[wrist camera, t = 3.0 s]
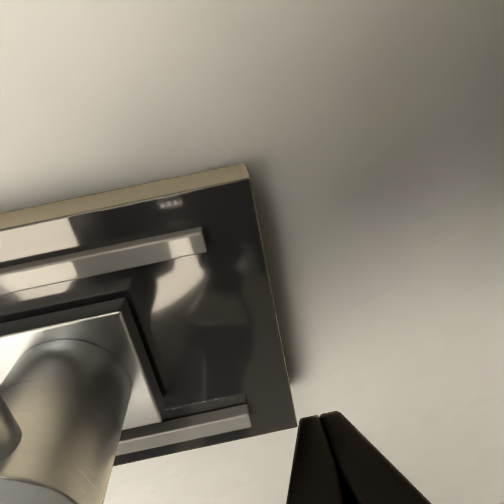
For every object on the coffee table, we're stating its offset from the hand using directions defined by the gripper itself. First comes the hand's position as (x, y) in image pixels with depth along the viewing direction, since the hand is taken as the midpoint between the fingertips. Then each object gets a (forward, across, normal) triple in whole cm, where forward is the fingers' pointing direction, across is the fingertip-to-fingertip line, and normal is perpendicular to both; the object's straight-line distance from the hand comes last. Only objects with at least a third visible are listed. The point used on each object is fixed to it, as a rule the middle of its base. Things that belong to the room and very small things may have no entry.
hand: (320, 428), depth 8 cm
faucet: (+4, +6, -1) cm, 8 cm away
